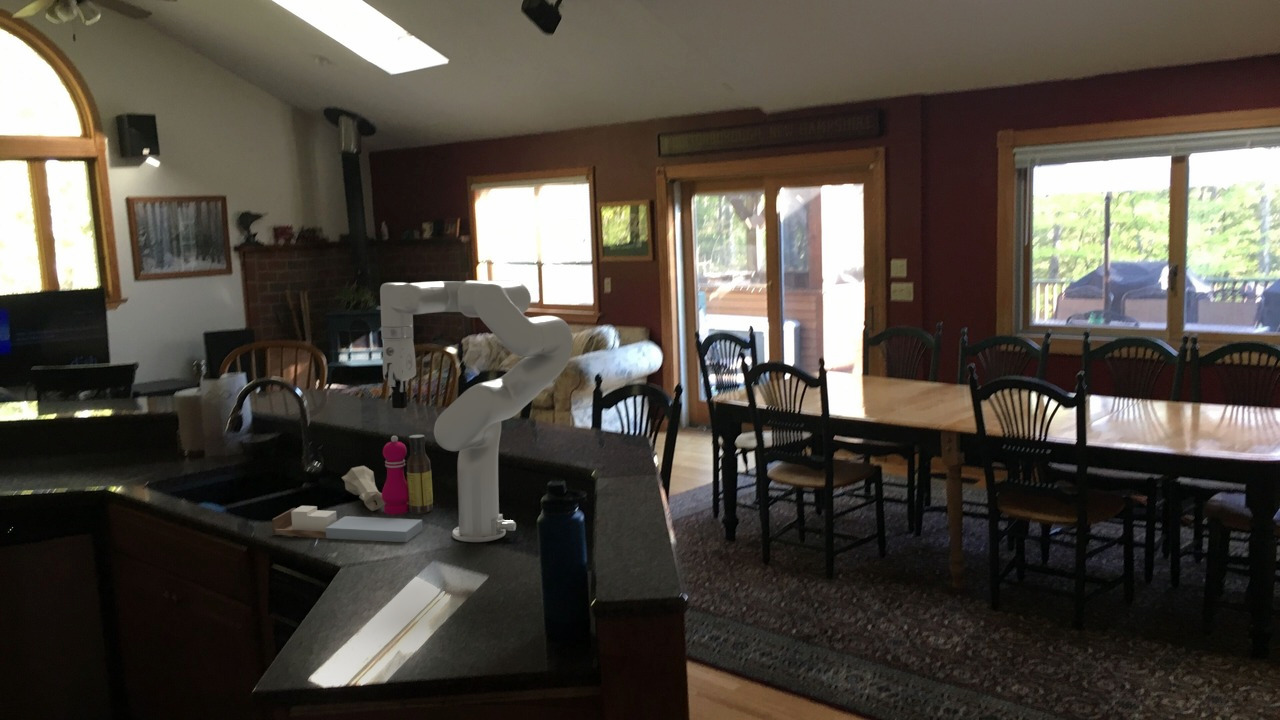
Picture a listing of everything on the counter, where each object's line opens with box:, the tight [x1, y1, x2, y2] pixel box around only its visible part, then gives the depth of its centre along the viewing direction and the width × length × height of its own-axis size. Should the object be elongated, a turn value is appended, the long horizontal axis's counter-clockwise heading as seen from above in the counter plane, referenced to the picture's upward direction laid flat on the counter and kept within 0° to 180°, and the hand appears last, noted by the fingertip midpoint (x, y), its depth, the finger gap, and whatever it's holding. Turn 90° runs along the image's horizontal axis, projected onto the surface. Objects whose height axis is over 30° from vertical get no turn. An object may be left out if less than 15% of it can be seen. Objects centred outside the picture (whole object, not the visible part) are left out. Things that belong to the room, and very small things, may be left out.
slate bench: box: [325, 515, 424, 543], centre depth 235 cm, size 20×10×2 cm, turn 81°
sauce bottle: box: [406, 434, 434, 514], centre depth 254 cm, size 6×6×20 cm
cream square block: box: [291, 505, 318, 530], centre depth 238 cm, size 5×5×4 cm
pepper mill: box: [381, 435, 410, 516], centre depth 254 cm, size 7×7×20 cm
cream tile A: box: [307, 509, 338, 531], centre depth 237 cm, size 5×5×4 cm
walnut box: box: [271, 507, 339, 539], centre depth 238 cm, size 14×10×4 cm
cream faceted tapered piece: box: [341, 465, 386, 512], centre depth 264 cm, size 9×8×25 cm
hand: (399, 407), depth 241 cm, fingers closed
